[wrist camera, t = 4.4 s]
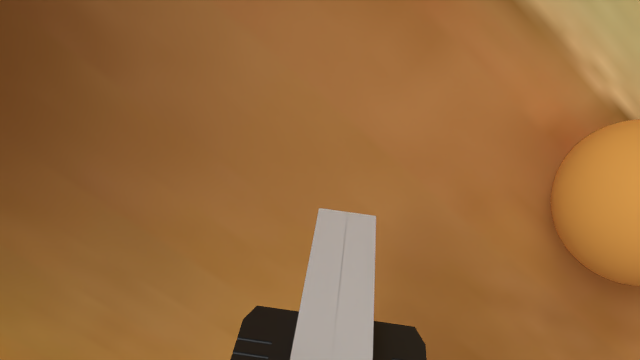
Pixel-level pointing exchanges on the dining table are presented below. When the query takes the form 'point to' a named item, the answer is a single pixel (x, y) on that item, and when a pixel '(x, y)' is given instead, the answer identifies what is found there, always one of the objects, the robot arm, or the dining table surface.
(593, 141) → the ball
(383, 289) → the dining table surface
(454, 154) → the dining table surface
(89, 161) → the dining table surface
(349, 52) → the dining table surface
